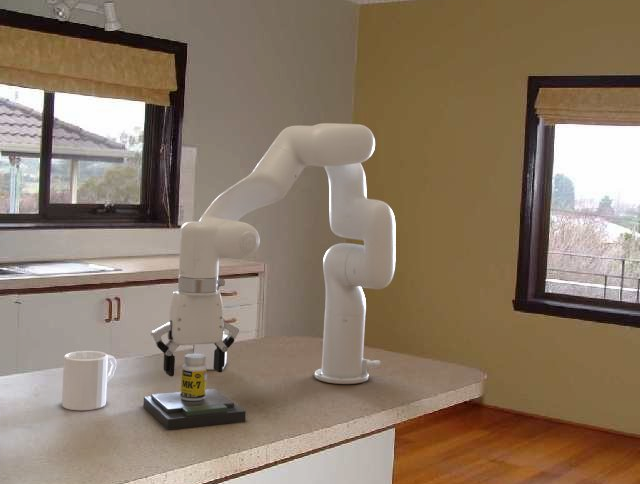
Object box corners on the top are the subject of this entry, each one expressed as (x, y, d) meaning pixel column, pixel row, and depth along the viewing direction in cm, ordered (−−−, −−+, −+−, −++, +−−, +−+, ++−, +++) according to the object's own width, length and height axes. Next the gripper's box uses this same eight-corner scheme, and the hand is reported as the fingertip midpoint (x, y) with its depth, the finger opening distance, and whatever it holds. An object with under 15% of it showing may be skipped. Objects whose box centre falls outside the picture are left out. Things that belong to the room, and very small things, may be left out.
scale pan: (214, 392, 180) (214, 388, 179) (234, 406, 170) (234, 402, 170) (151, 398, 173) (151, 394, 173) (167, 413, 163) (168, 409, 163)
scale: (216, 399, 181) (216, 385, 181) (245, 421, 168) (246, 406, 168) (143, 406, 173) (144, 391, 173) (167, 430, 160) (168, 413, 160)
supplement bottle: (177, 400, 169) (179, 357, 169) (183, 394, 174) (185, 352, 173) (202, 402, 169) (204, 359, 169) (207, 395, 174) (209, 353, 173)
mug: (129, 400, 177) (131, 351, 177) (82, 413, 167) (84, 362, 166) (100, 393, 181) (103, 345, 181) (52, 405, 171) (55, 355, 170)
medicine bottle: (196, 362, 213) (198, 313, 212) (226, 363, 213) (228, 314, 213) (192, 369, 206) (194, 318, 205) (222, 370, 206) (225, 319, 206)
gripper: (233, 281, 178) (229, 365, 179) (148, 283, 169) (144, 371, 170) (247, 287, 172) (243, 373, 173) (159, 289, 163) (155, 381, 163)
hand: (194, 372), depth 171 cm, fingers open, 9 cm apart
